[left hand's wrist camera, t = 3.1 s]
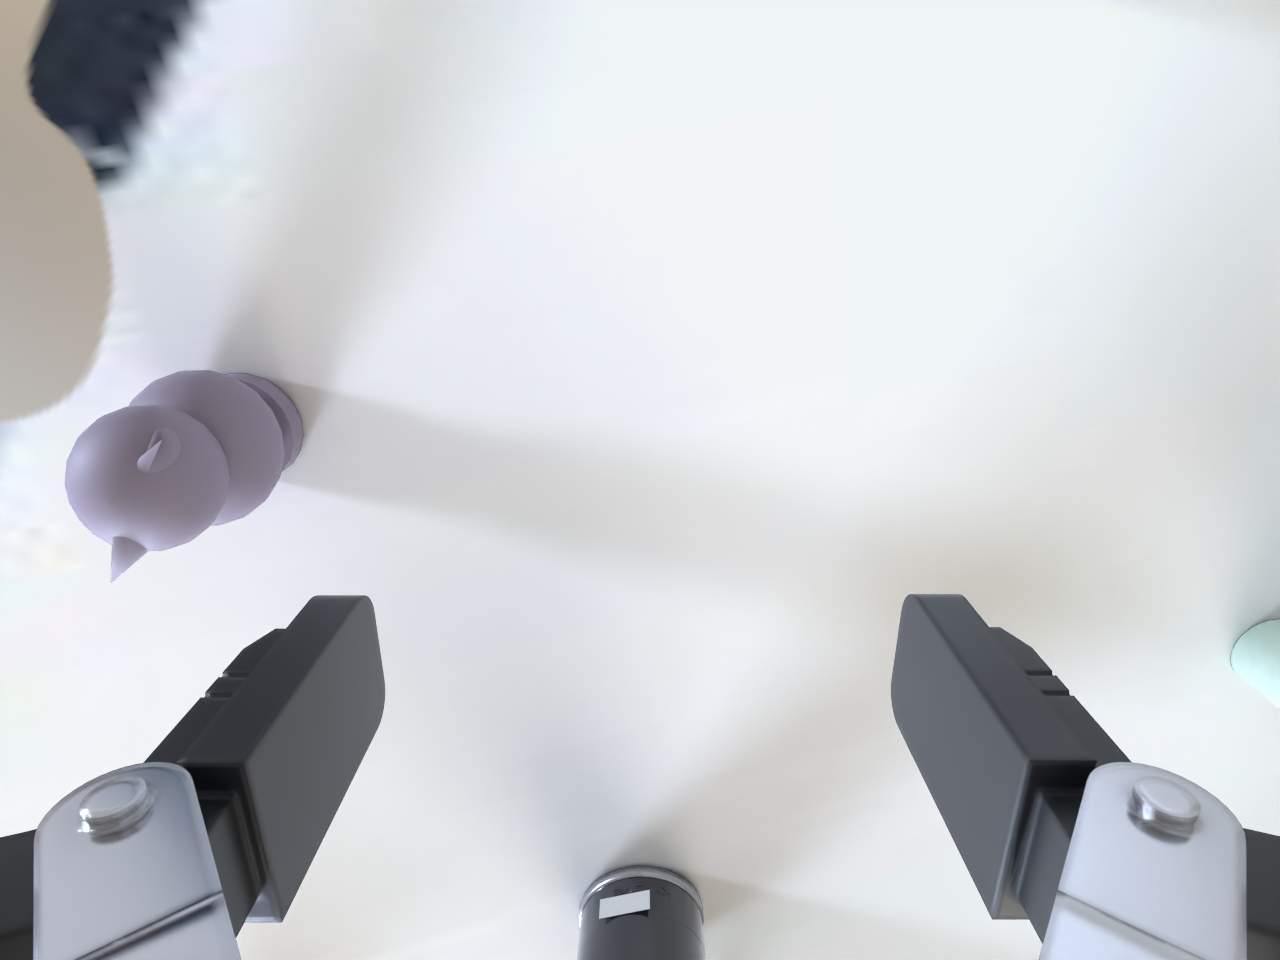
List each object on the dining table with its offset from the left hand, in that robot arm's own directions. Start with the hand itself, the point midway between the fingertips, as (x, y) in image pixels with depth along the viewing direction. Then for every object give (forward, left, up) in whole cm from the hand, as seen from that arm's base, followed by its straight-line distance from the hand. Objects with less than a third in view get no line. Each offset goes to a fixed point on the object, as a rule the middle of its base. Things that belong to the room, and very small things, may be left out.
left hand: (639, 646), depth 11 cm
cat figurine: (-6, +23, -32) cm, 40 cm away
